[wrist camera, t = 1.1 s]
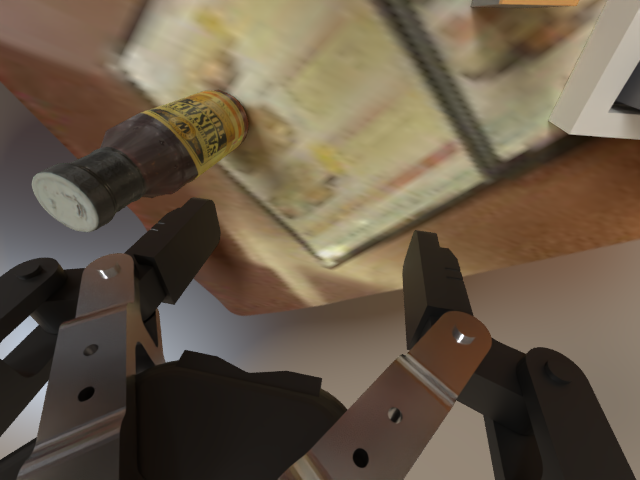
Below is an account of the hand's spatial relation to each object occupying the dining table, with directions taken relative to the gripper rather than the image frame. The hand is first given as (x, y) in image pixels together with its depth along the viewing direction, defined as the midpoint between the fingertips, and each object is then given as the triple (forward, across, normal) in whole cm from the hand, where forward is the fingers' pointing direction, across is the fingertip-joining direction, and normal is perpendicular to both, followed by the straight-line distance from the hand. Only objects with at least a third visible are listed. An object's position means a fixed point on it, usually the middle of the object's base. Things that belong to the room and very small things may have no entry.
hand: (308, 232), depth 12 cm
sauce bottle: (+22, +14, +3) cm, 27 cm away
